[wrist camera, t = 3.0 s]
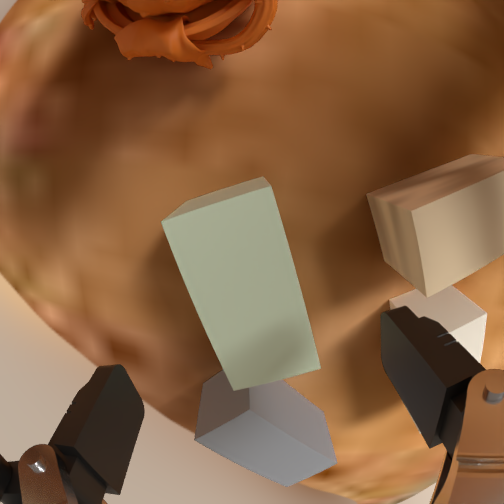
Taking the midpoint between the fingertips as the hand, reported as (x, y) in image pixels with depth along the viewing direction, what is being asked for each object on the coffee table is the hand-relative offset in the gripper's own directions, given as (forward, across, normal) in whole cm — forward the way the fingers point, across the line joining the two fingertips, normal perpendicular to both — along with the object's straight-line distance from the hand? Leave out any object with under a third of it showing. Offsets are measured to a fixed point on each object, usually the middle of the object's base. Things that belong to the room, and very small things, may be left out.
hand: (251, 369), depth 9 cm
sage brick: (+8, 0, 0) cm, 8 cm away
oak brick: (+8, -11, -2) cm, 14 cm away
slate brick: (+8, +1, +10) cm, 13 cm away
